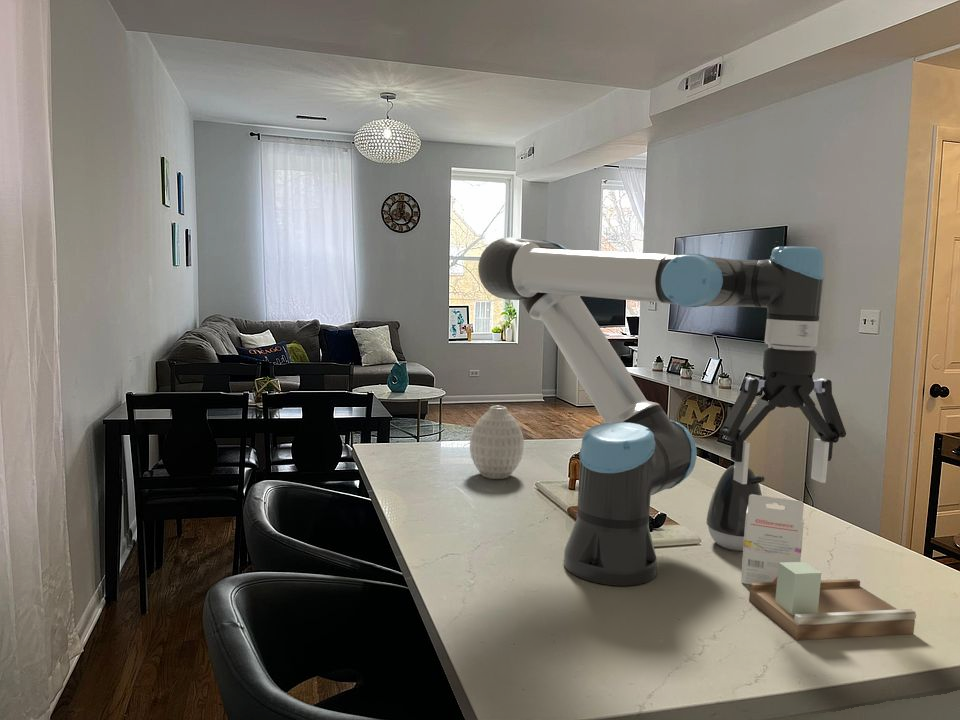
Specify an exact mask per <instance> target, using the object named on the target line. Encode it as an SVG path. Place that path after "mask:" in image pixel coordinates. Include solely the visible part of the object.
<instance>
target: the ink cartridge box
mask: <svg viewBox="0 0 960 720" xmlns="http://www.w3.org/2000/svg"><path fill="white" fill-rule="evenodd" d="M768 504H769V505H773V504H777V505H778V506H783V507H784V509H779V508H773V507H767V505H768ZM803 515H804V501H802V500H795V499H787V498H785V497H783V498H782V497H777V496H776V497H775V496H767V495H762V496H760V495H754V494H751V495H749V502H748V507H747V511H746V520H745V533H744V546H743V551H742V563H741V578H740V579H741V580H740V582H741V584H744V585H749V586H750V583H764V582H777V576H778V565H779V563H781V562H802V561H801V560H802V558H801V557H802V547H803V534H804V524H805V523H804V522H805V521H804V516H803Z"/></svg>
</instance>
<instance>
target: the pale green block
mask: <svg viewBox="0 0 960 720" xmlns="http://www.w3.org/2000/svg"><path fill="white" fill-rule="evenodd" d="M821 580H822V572H821V571H820V570H817V568H815V567H813V566H811V565H810V564H808V563H807V562H805V561H801V562H781V563H779V565H778V576H777V587H776V598H775V603H776V604H778V605H779V606H780V607H782V608H783V609H784V610H785V611H787V612H788V613H789V614H791V615H795V614H812V613H818V604H819V594H820V583H821Z"/></svg>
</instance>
